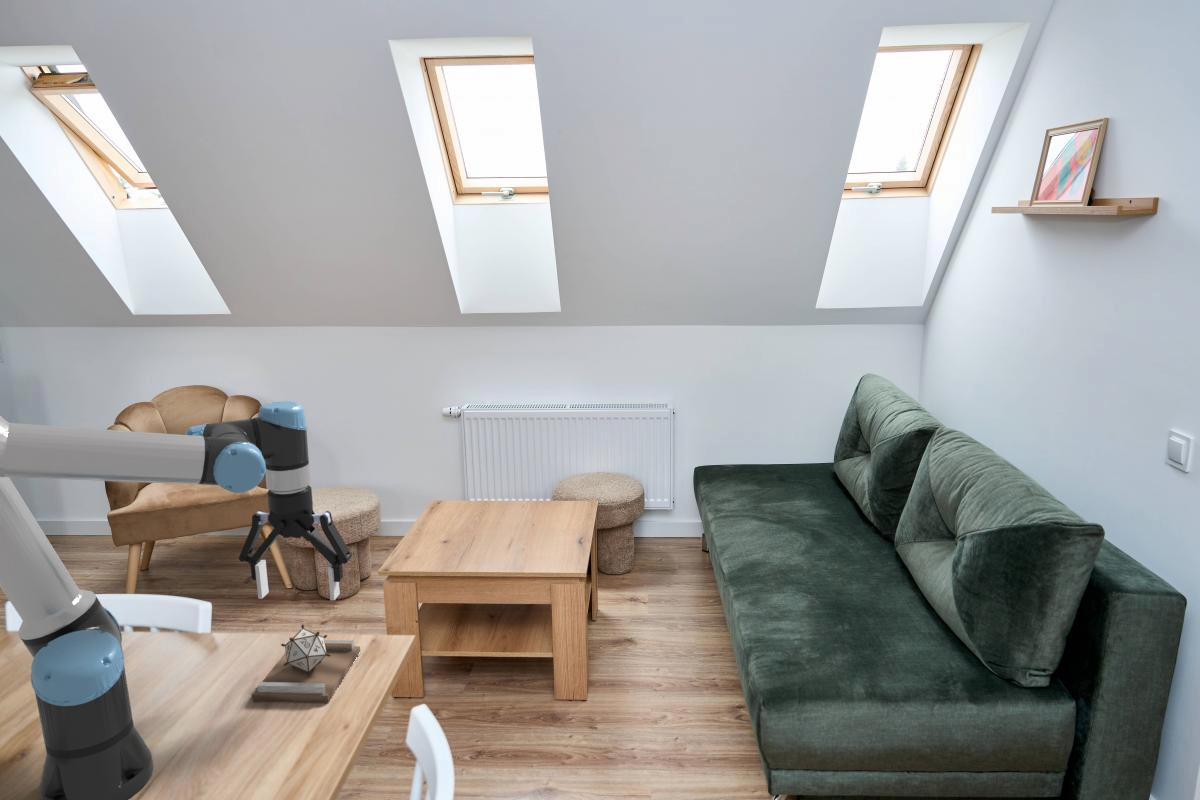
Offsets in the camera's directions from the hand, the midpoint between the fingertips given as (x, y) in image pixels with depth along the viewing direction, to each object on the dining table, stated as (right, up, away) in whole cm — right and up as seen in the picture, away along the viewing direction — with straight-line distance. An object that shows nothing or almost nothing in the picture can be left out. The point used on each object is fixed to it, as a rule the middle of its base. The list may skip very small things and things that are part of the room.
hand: (299, 596), depth 156 cm
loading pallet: (0, -16, +4) cm, 17 cm away
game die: (0, -15, +4) cm, 15 cm away
